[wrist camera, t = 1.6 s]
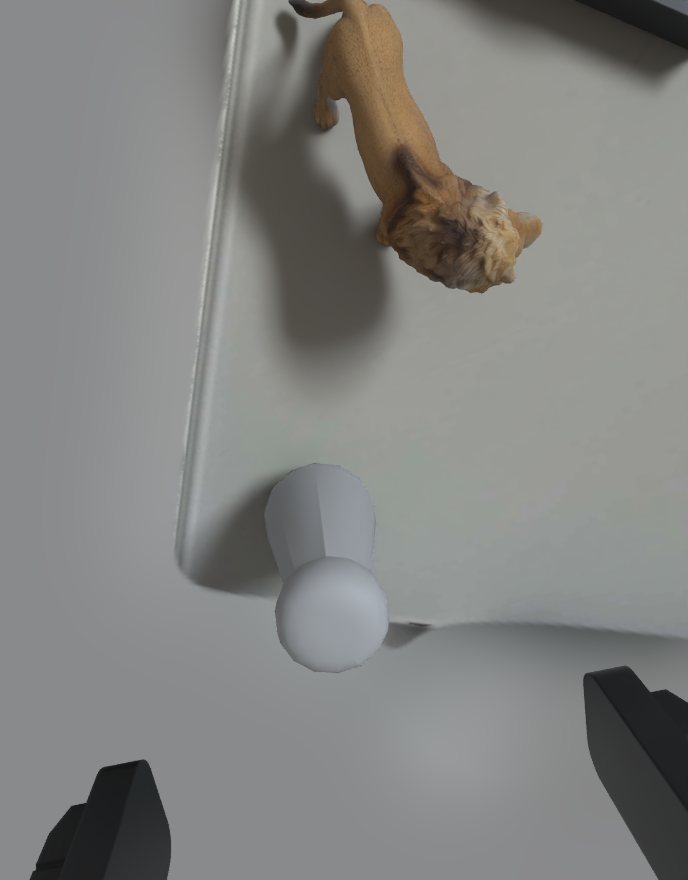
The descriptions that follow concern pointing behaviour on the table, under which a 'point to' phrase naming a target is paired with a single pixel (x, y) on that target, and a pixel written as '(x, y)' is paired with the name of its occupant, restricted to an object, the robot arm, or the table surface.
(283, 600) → the salt shaker
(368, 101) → the lion figurine
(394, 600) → the table surface
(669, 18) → the scale
